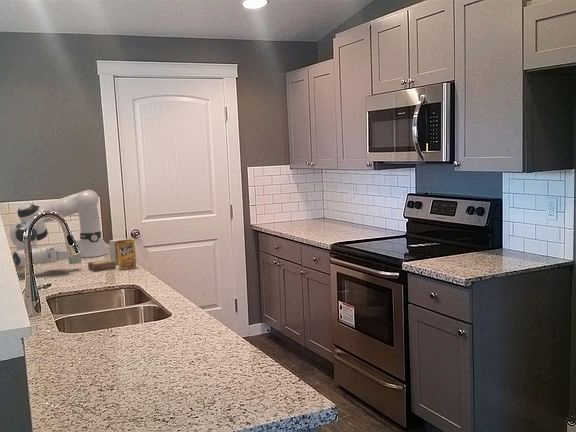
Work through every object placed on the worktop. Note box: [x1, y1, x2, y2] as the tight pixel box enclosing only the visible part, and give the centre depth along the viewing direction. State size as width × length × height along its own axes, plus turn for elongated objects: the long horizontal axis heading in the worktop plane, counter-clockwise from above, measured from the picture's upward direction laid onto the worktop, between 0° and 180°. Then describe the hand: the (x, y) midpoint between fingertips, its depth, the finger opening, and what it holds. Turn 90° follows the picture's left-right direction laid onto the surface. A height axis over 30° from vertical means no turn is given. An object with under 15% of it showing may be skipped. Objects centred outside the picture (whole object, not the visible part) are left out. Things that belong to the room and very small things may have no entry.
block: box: [68, 239, 82, 265], centre depth 308 cm, size 5×5×12 cm
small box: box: [108, 238, 123, 266], centre depth 323 cm, size 8×6×13 cm
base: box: [87, 258, 117, 273], centre depth 309 cm, size 10×11×4 cm
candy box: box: [117, 238, 137, 271], centre depth 306 cm, size 9×4×15 cm, turn 107°
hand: (75, 250), depth 309 cm, fingers closed on block, 4 cm apart
